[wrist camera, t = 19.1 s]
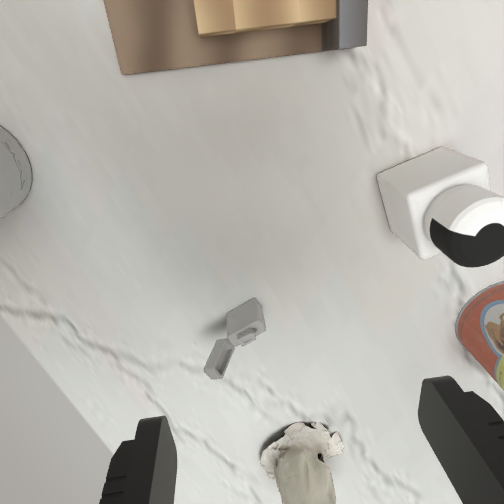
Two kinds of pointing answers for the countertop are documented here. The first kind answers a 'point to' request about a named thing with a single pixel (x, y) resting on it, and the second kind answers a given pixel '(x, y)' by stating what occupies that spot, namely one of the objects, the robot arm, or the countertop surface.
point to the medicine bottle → (445, 207)
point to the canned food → (485, 329)
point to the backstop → (218, 47)
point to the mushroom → (303, 464)
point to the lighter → (235, 336)
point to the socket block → (259, 15)
